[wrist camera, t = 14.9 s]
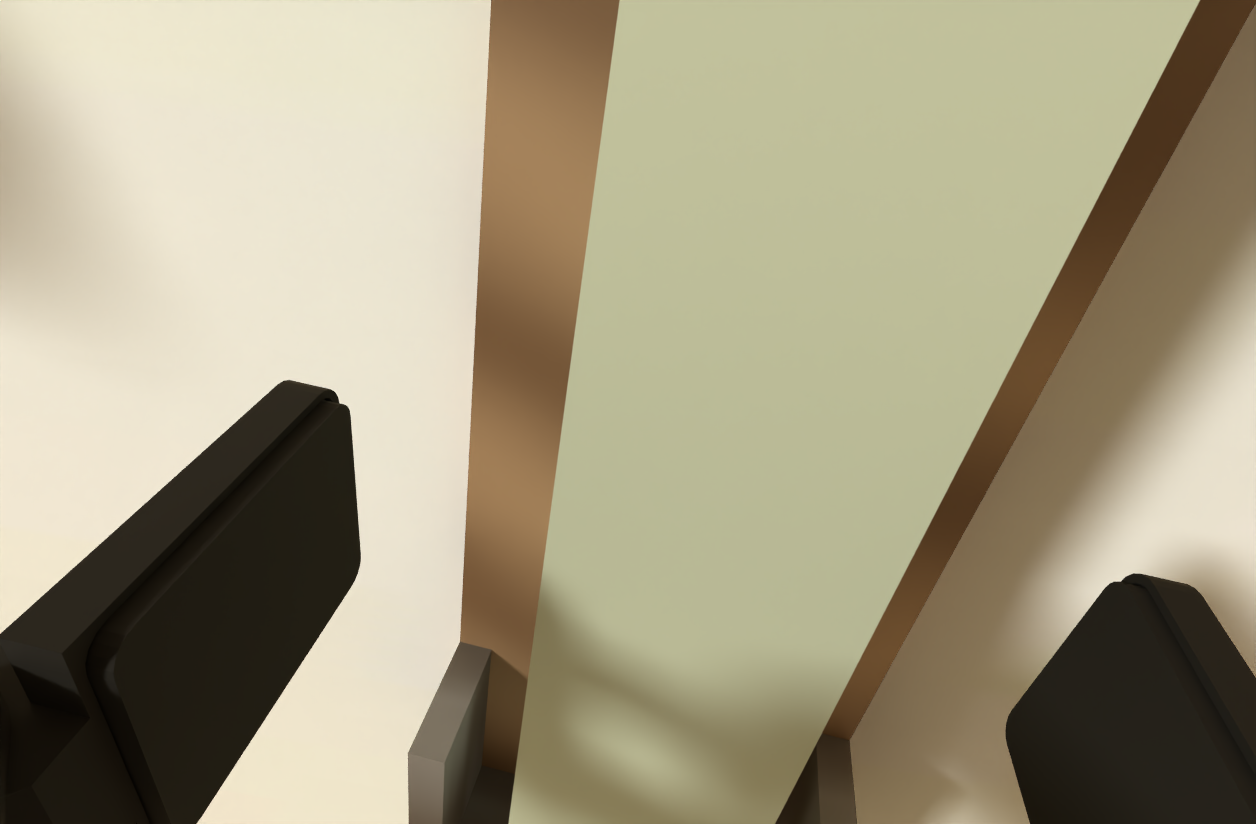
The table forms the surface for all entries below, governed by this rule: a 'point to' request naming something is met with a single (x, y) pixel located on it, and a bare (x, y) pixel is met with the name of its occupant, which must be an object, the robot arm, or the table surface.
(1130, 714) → the robot arm
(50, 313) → the table surface
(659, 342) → the slat
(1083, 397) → the table surface
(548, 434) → the cradle
